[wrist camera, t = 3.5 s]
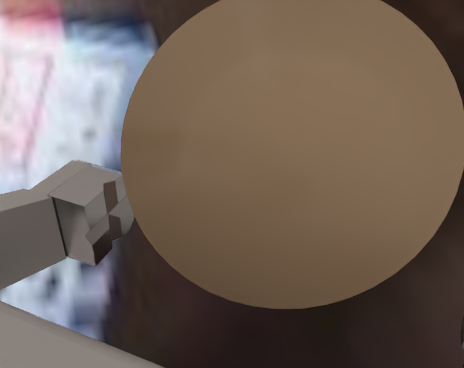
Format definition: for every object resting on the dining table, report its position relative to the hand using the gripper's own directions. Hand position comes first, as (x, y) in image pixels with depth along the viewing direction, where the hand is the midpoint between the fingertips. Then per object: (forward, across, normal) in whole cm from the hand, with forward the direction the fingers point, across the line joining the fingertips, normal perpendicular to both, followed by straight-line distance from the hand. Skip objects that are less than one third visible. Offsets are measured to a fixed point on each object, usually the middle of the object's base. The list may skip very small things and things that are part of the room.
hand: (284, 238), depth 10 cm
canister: (+6, 0, +4) cm, 8 cm away
